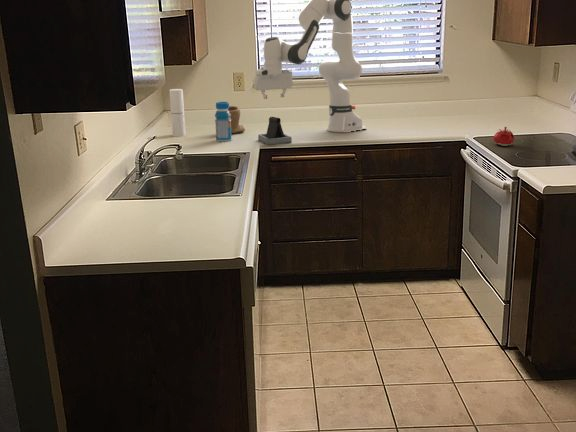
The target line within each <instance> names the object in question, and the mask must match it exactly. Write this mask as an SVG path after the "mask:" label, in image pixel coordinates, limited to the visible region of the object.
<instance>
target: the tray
mask: <svg viewBox="0 0 576 432" xmlns="http://www.w3.org/2000/svg"><path fill="white" fill-rule="evenodd" d="M257 135H258V137H257V139H258V141H259V142H261V143H264V144H266V145H268V146H271V145H272V146H273V145H281V144H291V143H292V136H290V135H288V134H286V133H284V136H285V137H282V138H272V139H269V138H267V137H266V133H262V134H257Z"/></svg>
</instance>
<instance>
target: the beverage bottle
mask: <svg viewBox="0 0 576 432" xmlns="http://www.w3.org/2000/svg"><path fill="white" fill-rule="evenodd" d="M229 106H230V103H229V102H228V101H217V102H216V103H215V108H216V111H215V114H214V117H215V120H214V122H215V137H216V138H215V139H216V141H217V142H224V143H225V142H229V141H230V142H231V141H232V139H233V137H232V133H231V118H230V116H231V114H230V112H229V111H228V109H229Z"/></svg>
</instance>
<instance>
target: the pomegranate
mask: <svg viewBox="0 0 576 432" xmlns="http://www.w3.org/2000/svg"><path fill="white" fill-rule="evenodd" d="M496 131H498V132H496V133H495V134H494V135H493V138H492V139H493V143H494V142H496V143H501V144H511V143H513V144H514V141H515V136H514V133H513V132H512V131H511V130H509V129H508V126H504V129H502V130H501V129H498V130H496Z"/></svg>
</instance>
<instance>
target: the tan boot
mask: <svg viewBox="0 0 576 432" xmlns="http://www.w3.org/2000/svg"><path fill="white" fill-rule="evenodd" d="M228 111H229V112H230V114H231V116H230V118H231V134H238V133H243V132H245V131H246V129H245V127H244V125H242V124H241V125H240V118H241V108H239V107H238V106H236V105H229V109H228Z"/></svg>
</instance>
